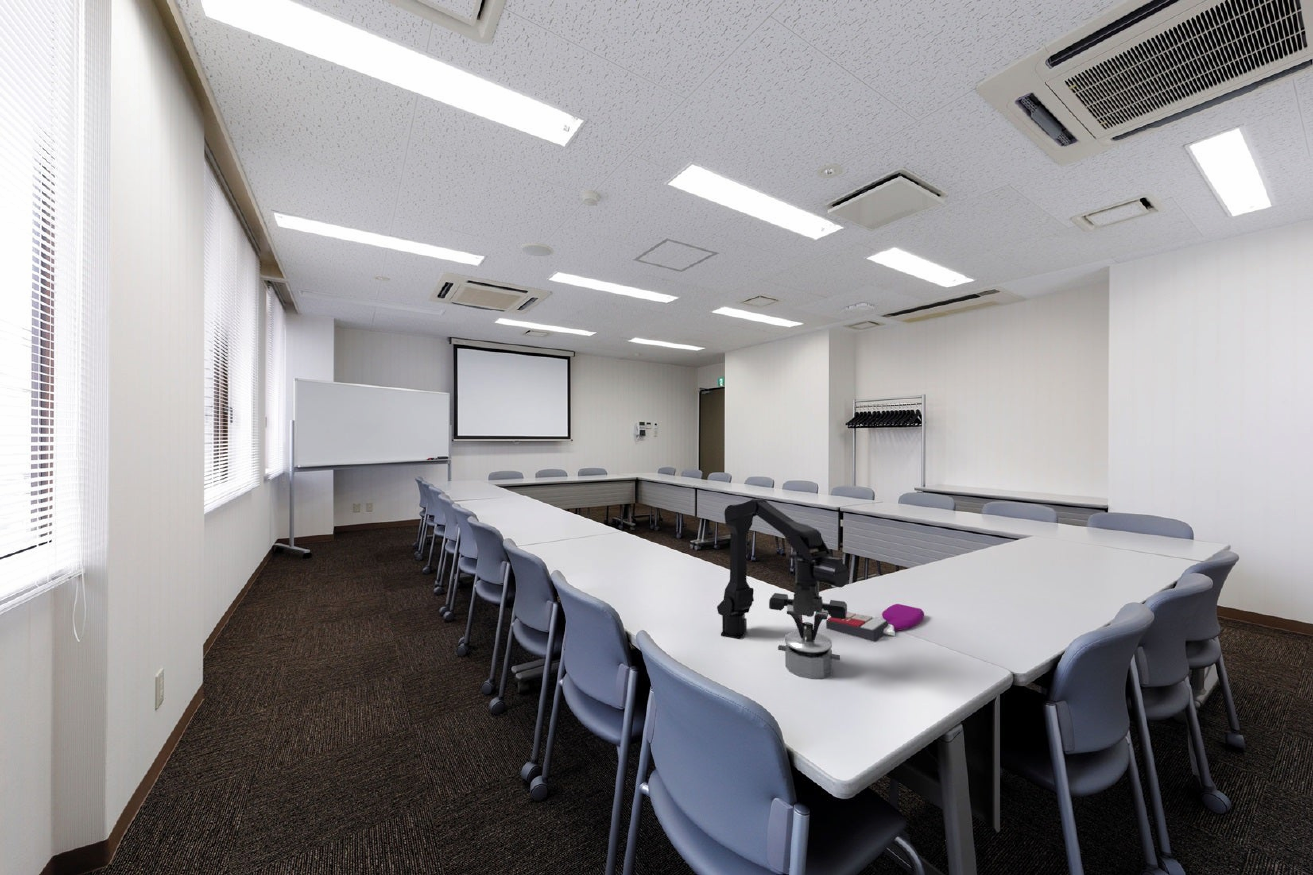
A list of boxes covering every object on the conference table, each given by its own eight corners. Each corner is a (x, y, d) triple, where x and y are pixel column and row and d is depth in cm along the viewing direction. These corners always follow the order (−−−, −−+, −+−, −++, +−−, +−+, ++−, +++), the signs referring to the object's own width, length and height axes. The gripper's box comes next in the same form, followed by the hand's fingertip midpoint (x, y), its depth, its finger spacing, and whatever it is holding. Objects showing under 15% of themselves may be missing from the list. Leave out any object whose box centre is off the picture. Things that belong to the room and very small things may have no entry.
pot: (774, 671, 122) (774, 651, 122) (782, 654, 132) (782, 635, 132) (838, 684, 115) (837, 663, 115) (842, 664, 125) (841, 645, 125)
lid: (780, 651, 121) (780, 628, 121) (789, 634, 131) (788, 613, 132) (829, 660, 116) (829, 635, 116) (834, 641, 126) (833, 619, 127)
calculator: (840, 609, 158) (888, 618, 147) (841, 622, 158) (889, 632, 147) (825, 618, 150) (874, 628, 140) (826, 632, 150) (875, 643, 140)
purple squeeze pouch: (927, 618, 158) (900, 641, 141) (892, 610, 166) (863, 631, 148) (927, 609, 158) (900, 631, 141) (892, 602, 166) (863, 622, 148)
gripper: (763, 582, 121) (764, 644, 121) (843, 591, 113) (844, 658, 113) (773, 571, 131) (774, 628, 131) (846, 579, 123) (847, 640, 123)
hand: (808, 638), depth 124 cm, fingers closed on lid, 3 cm apart
